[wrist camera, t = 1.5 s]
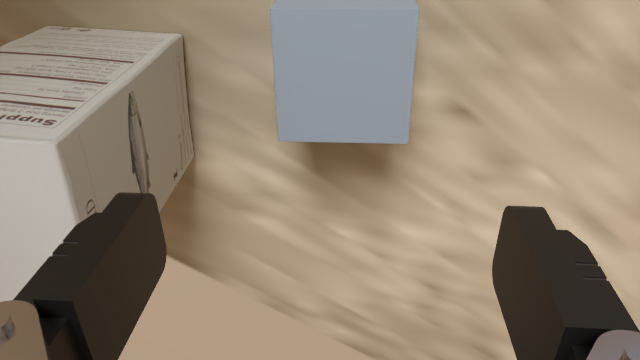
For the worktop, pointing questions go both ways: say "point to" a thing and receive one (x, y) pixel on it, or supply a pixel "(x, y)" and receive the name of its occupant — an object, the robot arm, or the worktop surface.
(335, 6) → the blue block
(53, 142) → the supplement box
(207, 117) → the worktop surface
